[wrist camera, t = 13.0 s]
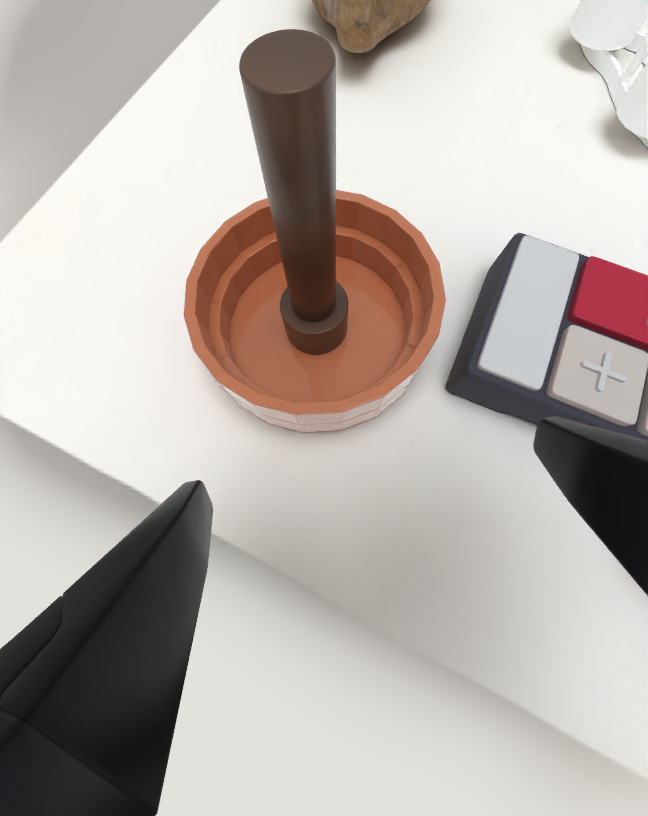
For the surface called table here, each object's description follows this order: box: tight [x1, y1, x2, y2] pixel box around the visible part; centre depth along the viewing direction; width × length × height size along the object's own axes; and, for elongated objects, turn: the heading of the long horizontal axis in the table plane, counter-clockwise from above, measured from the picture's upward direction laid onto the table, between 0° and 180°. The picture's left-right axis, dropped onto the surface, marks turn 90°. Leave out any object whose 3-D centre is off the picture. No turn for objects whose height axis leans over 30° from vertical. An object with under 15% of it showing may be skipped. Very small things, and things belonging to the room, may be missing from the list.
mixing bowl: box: [184, 190, 446, 432], centre depth 22 cm, size 15×15×5 cm
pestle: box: [239, 29, 349, 355], centre depth 17 cm, size 4×4×15 cm
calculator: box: [446, 233, 648, 441], centre depth 21 cm, size 11×4×15 cm
